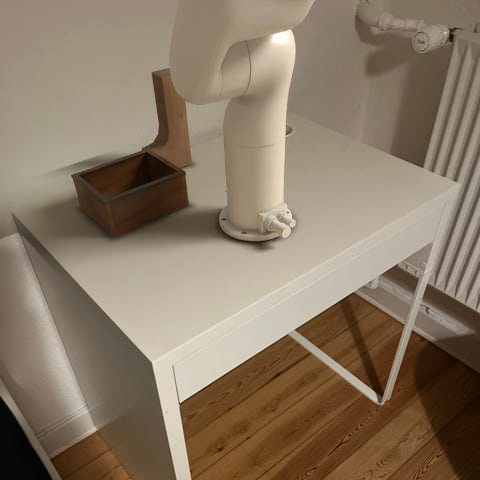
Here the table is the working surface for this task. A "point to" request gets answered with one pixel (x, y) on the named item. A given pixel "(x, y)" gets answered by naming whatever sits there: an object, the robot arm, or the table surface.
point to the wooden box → (131, 191)
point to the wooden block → (170, 122)
